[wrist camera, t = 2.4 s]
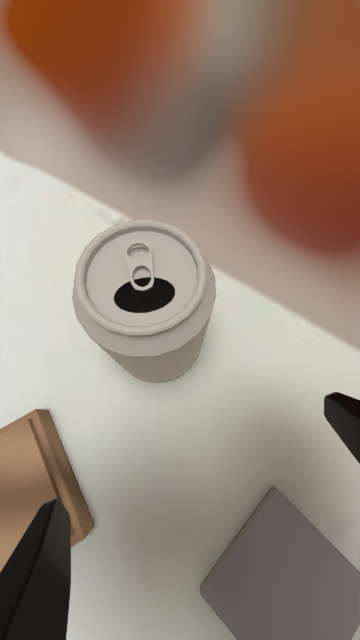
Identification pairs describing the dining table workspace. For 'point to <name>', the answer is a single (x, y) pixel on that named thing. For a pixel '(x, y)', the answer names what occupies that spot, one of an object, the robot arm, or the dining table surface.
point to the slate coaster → (284, 580)
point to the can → (145, 297)
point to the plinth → (35, 480)
